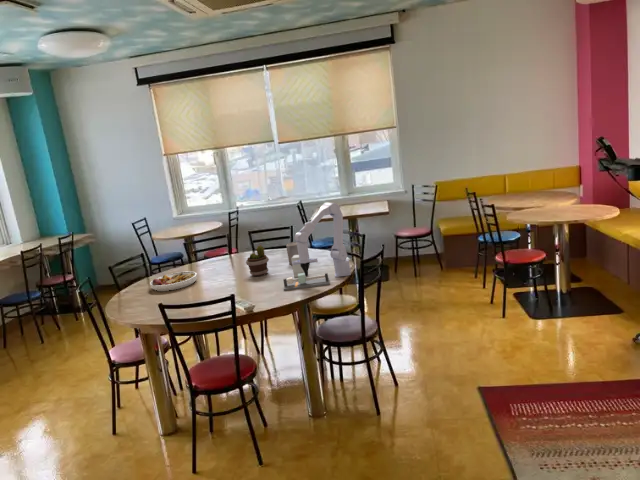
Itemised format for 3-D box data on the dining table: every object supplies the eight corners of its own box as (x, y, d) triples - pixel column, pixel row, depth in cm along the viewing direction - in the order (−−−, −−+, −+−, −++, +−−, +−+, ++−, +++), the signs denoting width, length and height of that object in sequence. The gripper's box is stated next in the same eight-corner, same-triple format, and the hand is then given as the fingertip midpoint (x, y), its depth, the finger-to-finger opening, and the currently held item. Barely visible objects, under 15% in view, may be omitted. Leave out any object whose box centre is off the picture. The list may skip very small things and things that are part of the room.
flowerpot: (252, 279, 325) (247, 249, 321) (245, 274, 339) (240, 245, 335) (274, 274, 331) (269, 244, 326) (266, 269, 344) (261, 240, 340)
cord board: (329, 279, 301) (327, 270, 299) (329, 284, 291) (327, 275, 290) (285, 285, 302) (283, 276, 301) (283, 290, 292) (282, 281, 291)
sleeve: (306, 280, 298) (305, 272, 297) (305, 282, 294) (304, 274, 293) (299, 281, 298) (298, 273, 297) (298, 283, 294) (297, 275, 293)
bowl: (183, 276, 360) (181, 265, 358) (206, 281, 339) (204, 269, 337) (143, 289, 340) (141, 278, 338) (165, 295, 318) (162, 283, 317)
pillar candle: (295, 260, 357) (291, 239, 354) (306, 261, 351) (302, 240, 348) (286, 264, 350) (282, 243, 346) (297, 265, 344) (293, 243, 341)
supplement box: (305, 276, 314) (302, 257, 311) (293, 277, 315) (290, 258, 313) (308, 273, 321) (305, 253, 318) (296, 274, 322) (293, 254, 320)
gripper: (290, 256, 289) (293, 279, 291) (315, 252, 288) (319, 275, 291) (291, 253, 295) (294, 275, 298) (316, 249, 295) (319, 272, 298)
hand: (306, 275), depth 295 cm, fingers closed
